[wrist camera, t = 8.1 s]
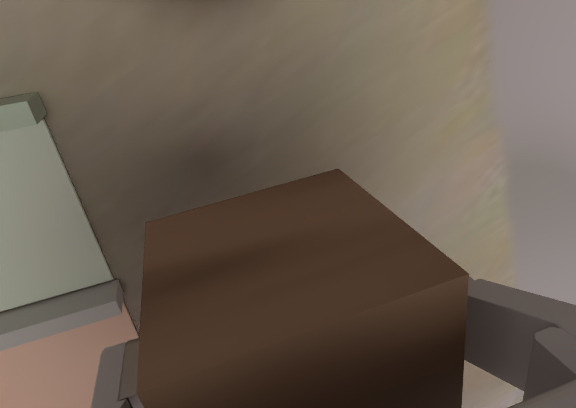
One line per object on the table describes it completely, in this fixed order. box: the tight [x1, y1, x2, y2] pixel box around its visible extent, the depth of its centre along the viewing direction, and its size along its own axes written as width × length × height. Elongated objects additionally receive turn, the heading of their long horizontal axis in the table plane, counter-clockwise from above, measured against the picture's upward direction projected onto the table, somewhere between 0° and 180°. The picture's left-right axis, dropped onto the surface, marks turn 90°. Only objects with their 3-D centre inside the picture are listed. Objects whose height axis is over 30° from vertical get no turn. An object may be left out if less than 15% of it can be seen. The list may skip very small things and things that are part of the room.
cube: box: [136, 169, 469, 408], centre depth 9 cm, size 5×5×5 cm
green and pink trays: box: [0, 92, 139, 408], centre depth 22 cm, size 23×11×2 cm, turn 8°
